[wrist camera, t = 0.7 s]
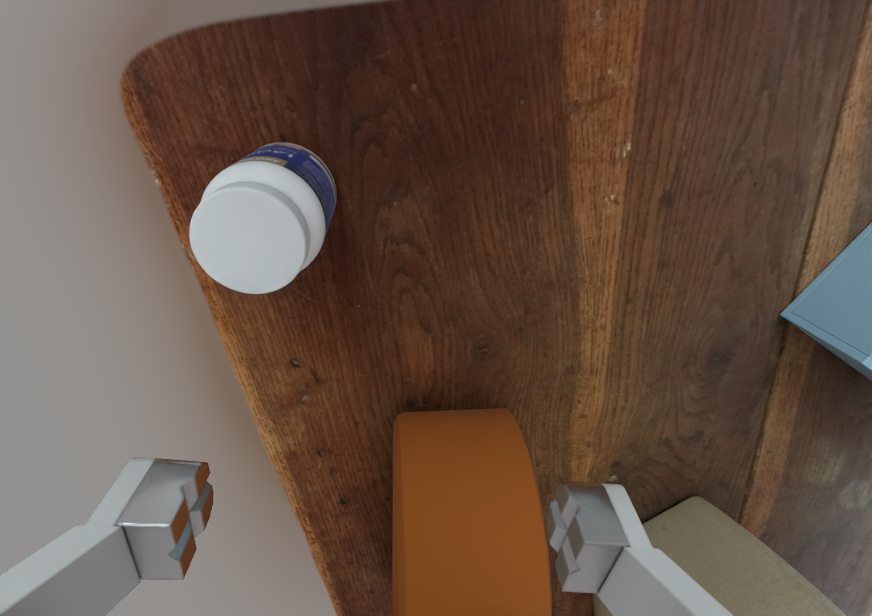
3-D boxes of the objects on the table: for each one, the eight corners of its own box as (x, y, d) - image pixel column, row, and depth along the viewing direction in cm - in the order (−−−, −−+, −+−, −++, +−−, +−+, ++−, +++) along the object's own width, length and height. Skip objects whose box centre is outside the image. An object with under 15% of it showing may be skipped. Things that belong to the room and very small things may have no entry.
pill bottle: (297, 121, 26) (258, 144, 17) (355, 205, 29) (347, 263, 20) (217, 175, 27) (141, 224, 18) (281, 252, 30) (241, 328, 21)
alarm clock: (392, 388, 35) (405, 615, 21) (506, 384, 36) (596, 596, 22) (391, 580, 46) (399, 822, 31) (480, 573, 47) (528, 802, 32)
